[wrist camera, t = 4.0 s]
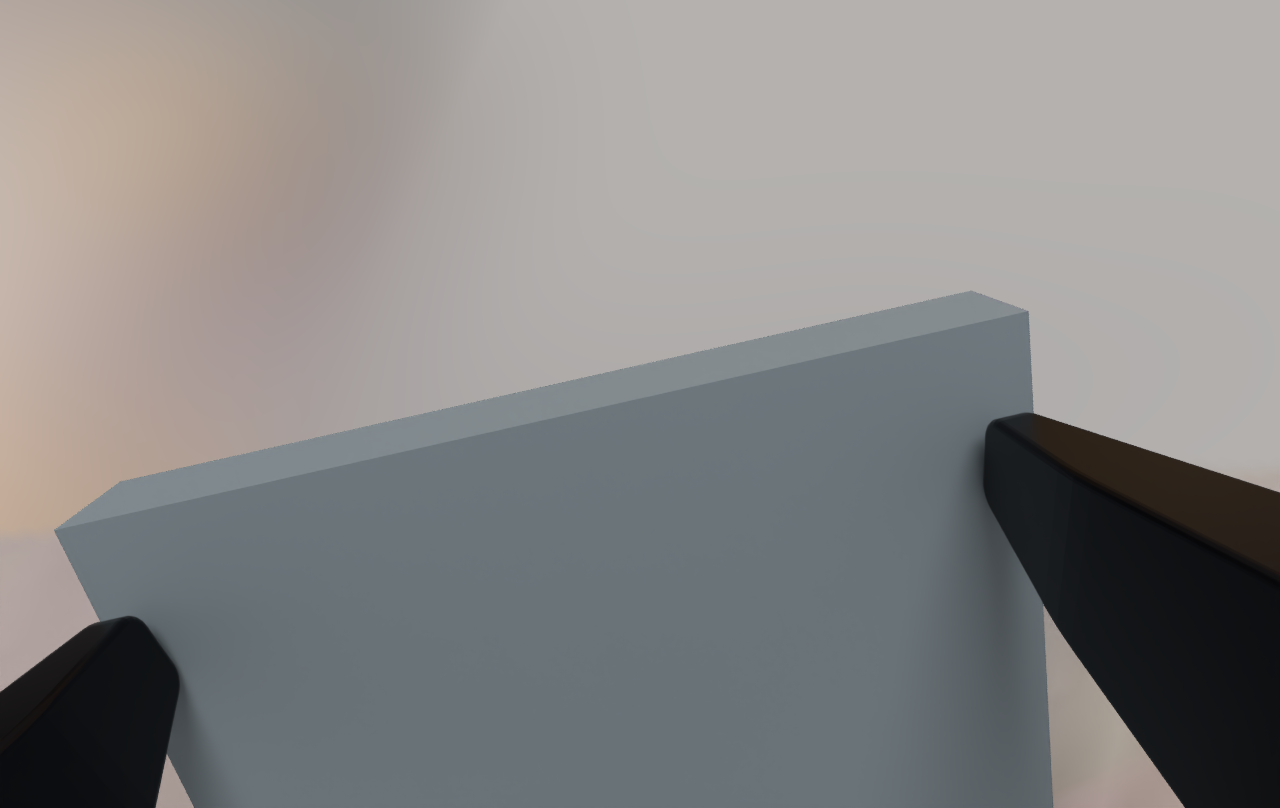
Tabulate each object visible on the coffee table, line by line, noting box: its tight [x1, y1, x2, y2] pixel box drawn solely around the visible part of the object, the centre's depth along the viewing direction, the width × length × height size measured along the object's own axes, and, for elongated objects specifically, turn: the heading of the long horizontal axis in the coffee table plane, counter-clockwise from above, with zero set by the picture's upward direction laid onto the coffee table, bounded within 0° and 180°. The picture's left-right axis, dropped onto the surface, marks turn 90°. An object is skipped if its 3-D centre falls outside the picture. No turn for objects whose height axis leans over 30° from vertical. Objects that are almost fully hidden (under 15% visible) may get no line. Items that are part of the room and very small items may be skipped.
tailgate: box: [54, 291, 1053, 808], centre depth 10 cm, size 2×10×10 cm
